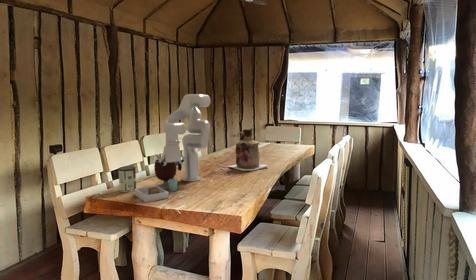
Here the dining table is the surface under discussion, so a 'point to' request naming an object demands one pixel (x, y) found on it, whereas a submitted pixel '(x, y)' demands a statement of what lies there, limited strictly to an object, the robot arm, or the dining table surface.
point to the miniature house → (127, 178)
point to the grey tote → (144, 196)
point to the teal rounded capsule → (173, 184)
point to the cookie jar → (247, 152)
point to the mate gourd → (164, 175)
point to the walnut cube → (153, 190)
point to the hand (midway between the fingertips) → (172, 171)
